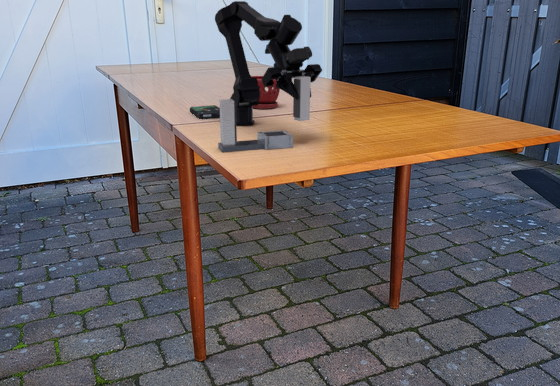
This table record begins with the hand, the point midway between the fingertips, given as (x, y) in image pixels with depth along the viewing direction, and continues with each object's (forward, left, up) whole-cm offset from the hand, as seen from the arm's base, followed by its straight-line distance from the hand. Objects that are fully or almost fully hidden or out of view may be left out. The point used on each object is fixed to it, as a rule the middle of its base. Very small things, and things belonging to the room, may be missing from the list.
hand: (304, 98), depth 155 cm
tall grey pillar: (-1, -1, -7) cm, 7 cm away
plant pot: (-59, -15, -14) cm, 62 cm away
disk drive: (-42, -35, -14) cm, 56 cm away
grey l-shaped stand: (+5, -14, -13) cm, 20 cm away
